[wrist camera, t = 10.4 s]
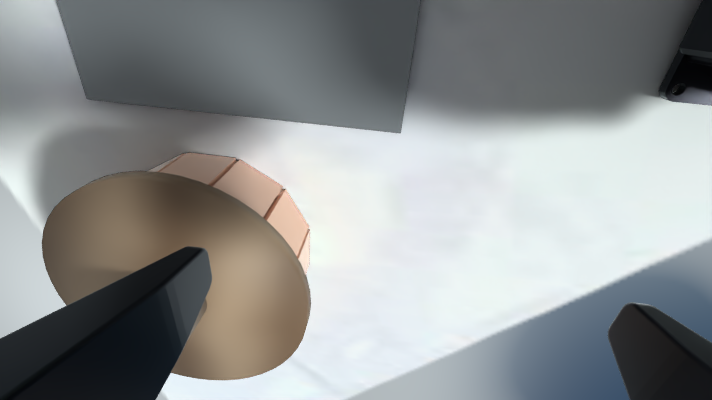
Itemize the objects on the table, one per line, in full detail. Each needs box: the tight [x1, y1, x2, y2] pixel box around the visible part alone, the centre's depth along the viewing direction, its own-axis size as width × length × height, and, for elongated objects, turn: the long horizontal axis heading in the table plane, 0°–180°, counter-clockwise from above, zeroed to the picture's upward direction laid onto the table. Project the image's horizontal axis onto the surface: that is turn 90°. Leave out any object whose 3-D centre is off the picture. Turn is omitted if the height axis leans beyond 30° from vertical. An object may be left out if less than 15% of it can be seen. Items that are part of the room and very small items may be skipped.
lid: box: [42, 171, 311, 380], centre depth 15 cm, size 13×13×5 cm
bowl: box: [148, 153, 310, 275], centre depth 19 cm, size 11×11×4 cm
